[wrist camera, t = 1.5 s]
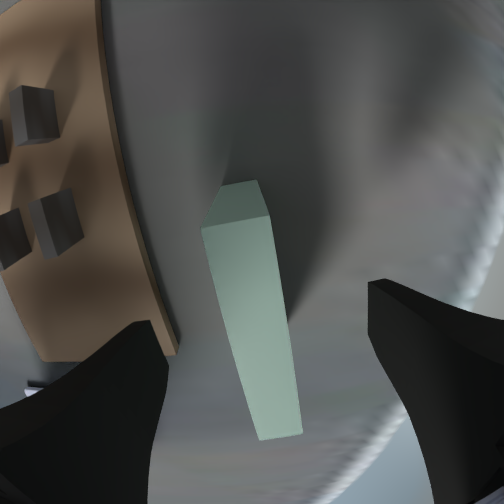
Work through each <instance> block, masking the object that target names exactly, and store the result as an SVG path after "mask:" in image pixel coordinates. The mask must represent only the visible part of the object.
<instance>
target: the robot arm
mask: <svg viewBox="0 0 504 504" xmlns="http://www.w3.org/2000/svg"><path fill="white" fill-rule="evenodd" d="M368 335H369V338H370V340H371V343H372V346H373V348H374V351H375V353H376V355H377V358H378V359H379V361H380V363H381V365H382V367H383V368H384V370H385V372H386V374H387V375H388V377H389V379H390V381H391V382H392V384H393V386H394V388H395V390H396V391H397V393H398V395H399V397H400V399H401V400H402V402H403V404H404V406H405V408H406V410H407V412H408V414H409V417H410V420H411V422H412V425H413V428H414V430H415V433H416V436H417V438H418V442H419V445H420V448H421V451H422V454H423V457H424V460H425V464H426V468H427V471H428V476H429V480H430V484H431V488H432V493H433V498H434V504H504V320H500V319H495V318H491V317H487V316H483V315H479V314H476V313H472V312H469V311H466V310H463V309H460V308H457V307H454V306H452V305H449V304H446V303H443V302H441V301H438V300H436V299H434V298H431V297H429V296H426V295H424V294H422V293H420V292H417V291H415V290H413V289H410V288H408V287H406V286H404V285H401V284H399V283H396V282H394V281H391V280H388V279H385V278H384V279H380V280H375V281H371V282H368ZM168 372H169V365H168V362H167V360H166V358H165V356H164V353H163V351H162V348H161V346H160V344H159V341H158V339H157V336H156V334H155V331H154V329H153V326H152V324H151V321H150V320H143V321H134V322H133V323H131V324H129V325H128V326H126V327H125V328H124V329H123V330H121V331H120V332H119V333H117V334H116V335H115V336H114V337H113V338H111V339H110V340H109V341H108V342H106V343H105V344H104V345H103V346H102V347H100V348H99V349H98V350H97V351H96V352H94V353H93V354H92V355H91V356H89V357H88V358H87V359H85V360H84V361H83V362H82V363H80V364H79V365H78V366H76V367H75V368H74V369H73V370H71V371H70V372H68V373H67V374H66V375H64V376H63V377H61V378H60V379H58V380H56V381H55V382H53V383H52V384H50V385H49V386H47V387H45V388H36V387H26V388H25V393H26V395H27V396H28V397H26V398H24V399H22V400H20V401H18V402H16V403H13V404H11V405H9V406H6V407H3V408H1V409H0V504H147V496H148V476H149V466H150V457H151V450H152V445H153V441H154V437H155V433H156V429H157V425H158V421H159V417H160V413H161V410H162V406H163V402H164V398H165V394H166V389H167V381H168Z"/></svg>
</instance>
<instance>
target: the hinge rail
mask: <svg viewBox="0 0 504 504" xmlns="http://www.w3.org/2000/svg"><path fill="white" fill-rule="evenodd" d="M0 273H1V275H2V278H3V281H4V283H5V286H6V288H7V290H8V293H9V295H10V297H11V300H12V302H13V304H14V307H15V309H16V311H17V313H18V315H19V317H20V319H21V321H22V324H23V326H24V328H25V330H26V332H27V333H28V335H29V337H30V339H31V341H32V343H33V345H34V347H35V349H36V350H37V352H38V354H39V356H40V357H41V359H42V361H43V362H78V361H84V360H85V359H87V358H88V357H89V356H91V355H92V354H93V353H94V352H96V351H97V350H98V349H99V348H100V347H102V346H103V345H104V344H105V343H106V342H108V341H109V340H110V339H111V338H113V337H114V336H115V335H116V334H117V333H119V332H120V331H121V330H123V329H124V328H125V327H126V326H128V325H129V324H131V323H133V322H134V321H143V320H150V321H151V324H152V326H153V329H154V331H155V334H156V336H157V339H158V341H159V344H160V346H161V348H162V351H163V353H164V356H172V355H177V351H178V348H179V345H178V343H177V340H176V337H175V335H174V332H173V329H172V326H171V324H170V321H169V318H168V315H167V312H166V310H165V307H164V304H163V301H162V298H161V295H160V292H159V289H158V286H157V283H156V280H155V277H154V273H153V270H152V267H151V264H150V261H149V257H148V254H147V251H146V247H145V244H144V240H143V237H142V233H141V230H140V226H139V223H138V219H137V215H136V211H135V208H134V204H133V200H132V196H131V192H130V188H129V184H128V179H127V175H126V171H125V166H124V162H123V157H122V152H121V148H120V143H119V138H118V133H117V127H116V122H115V117H114V111H113V105H112V99H111V93H110V86H109V79H108V72H107V64H106V56H105V48H104V38H103V27H102V14H101V0H21V1H19V2H18V3H16V4H15V5H14V6H12V7H11V8H9V9H8V10H7V11H5V12H4V13H2V14H1V15H0Z"/></svg>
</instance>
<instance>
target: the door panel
mask: <svg viewBox="0 0 504 504" xmlns="http://www.w3.org/2000/svg"><path fill="white" fill-rule="evenodd" d="M200 230H201V234H202V238H203V242H204V246H205V250H206V254H207V258H208V262H209V266H210V270H211V274H212V278H213V282H214V286H215V290H216V294H217V297H218V301H219V305H220V309H221V312H222V316H223V320H224V323H225V327H226V331H227V334H228V338H229V342H230V345H231V349H232V352H233V356H234V359H235V363H236V366H237V370H238V373H239V376H240V380H241V383H242V386H243V390H244V393H245V396H246V400H247V403H248V406H249V409H250V413H251V416H252V419H253V422H254V425H255V429H256V432H257V435H258V438H259V440H267V439H274V438H280V437H287V436H293V435H298V434H303V430H302V423H301V415H300V408H299V401H298V393H297V386H296V379H295V372H294V365H293V358H292V351H291V345H290V338H289V331H288V325H287V318H286V312H285V305H284V299H283V293H282V286H281V280H280V274H279V268H278V262H277V256H276V250H275V244H274V238H273V232H272V226H271V220H270V215H269V212H268V209H267V207H266V204H265V201H264V198H263V196H262V193H261V190H260V187H259V185H258V182H257V179H256V180H251V181H245V182H240V183H235V184H230V185H225V186H221V187H220V189H219V191H218V193H217V195H216V197H215V199H214V201H213V203H212V205H211V207H210V209H209V211H208V213H207V215H206V218H205V220H204V222H203V224H202V226H201V228H200Z"/></svg>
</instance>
